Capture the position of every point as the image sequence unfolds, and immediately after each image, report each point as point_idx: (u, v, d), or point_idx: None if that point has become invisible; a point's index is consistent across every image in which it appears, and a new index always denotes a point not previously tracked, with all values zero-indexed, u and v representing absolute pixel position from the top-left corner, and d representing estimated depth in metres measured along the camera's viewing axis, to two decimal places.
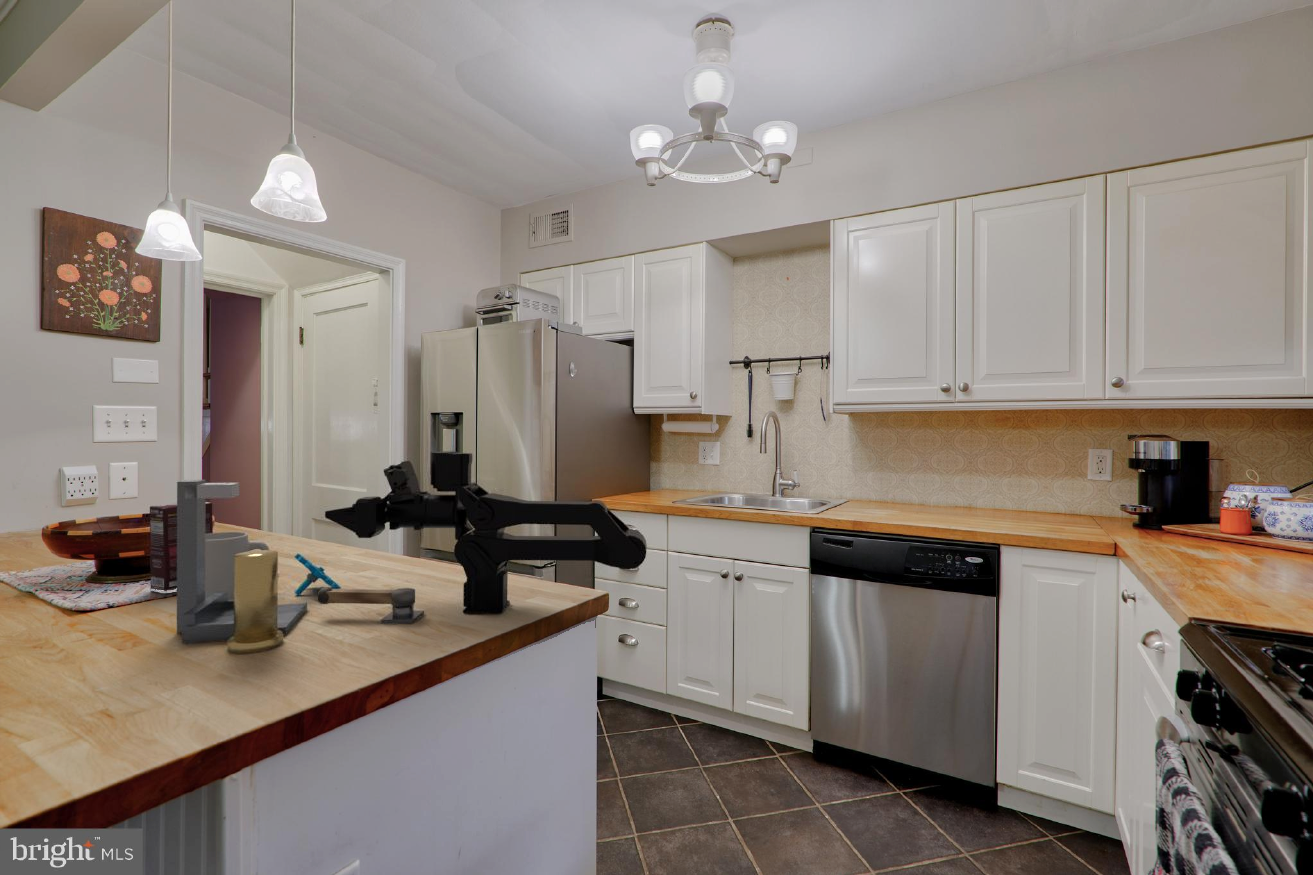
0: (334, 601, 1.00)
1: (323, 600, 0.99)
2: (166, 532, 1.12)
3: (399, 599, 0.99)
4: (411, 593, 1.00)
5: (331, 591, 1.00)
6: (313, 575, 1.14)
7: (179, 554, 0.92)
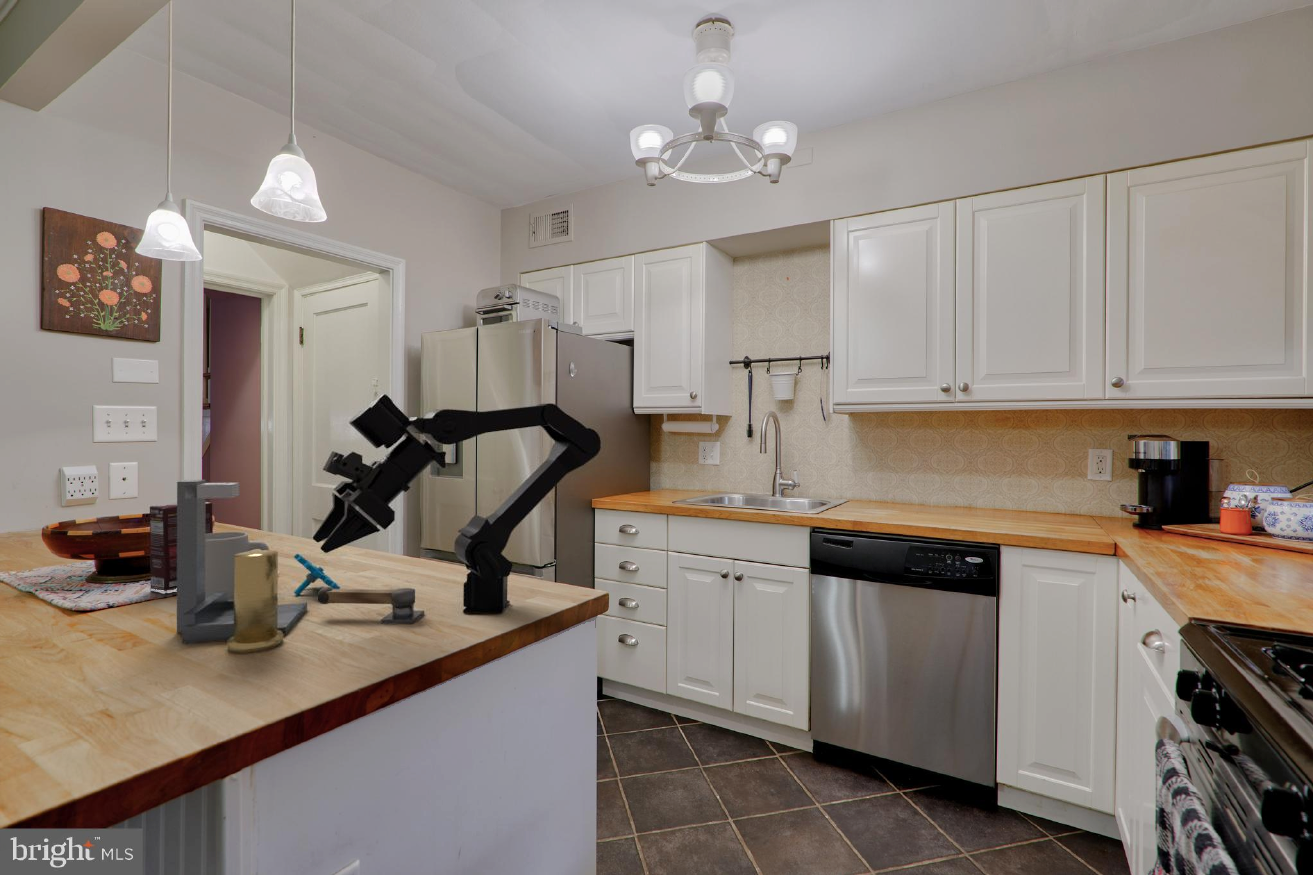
0: (334, 601, 1.00)
1: (323, 600, 0.99)
2: (166, 532, 1.12)
3: (399, 599, 0.99)
4: (411, 593, 1.00)
5: (331, 591, 1.00)
6: (312, 575, 1.14)
7: (179, 554, 0.92)
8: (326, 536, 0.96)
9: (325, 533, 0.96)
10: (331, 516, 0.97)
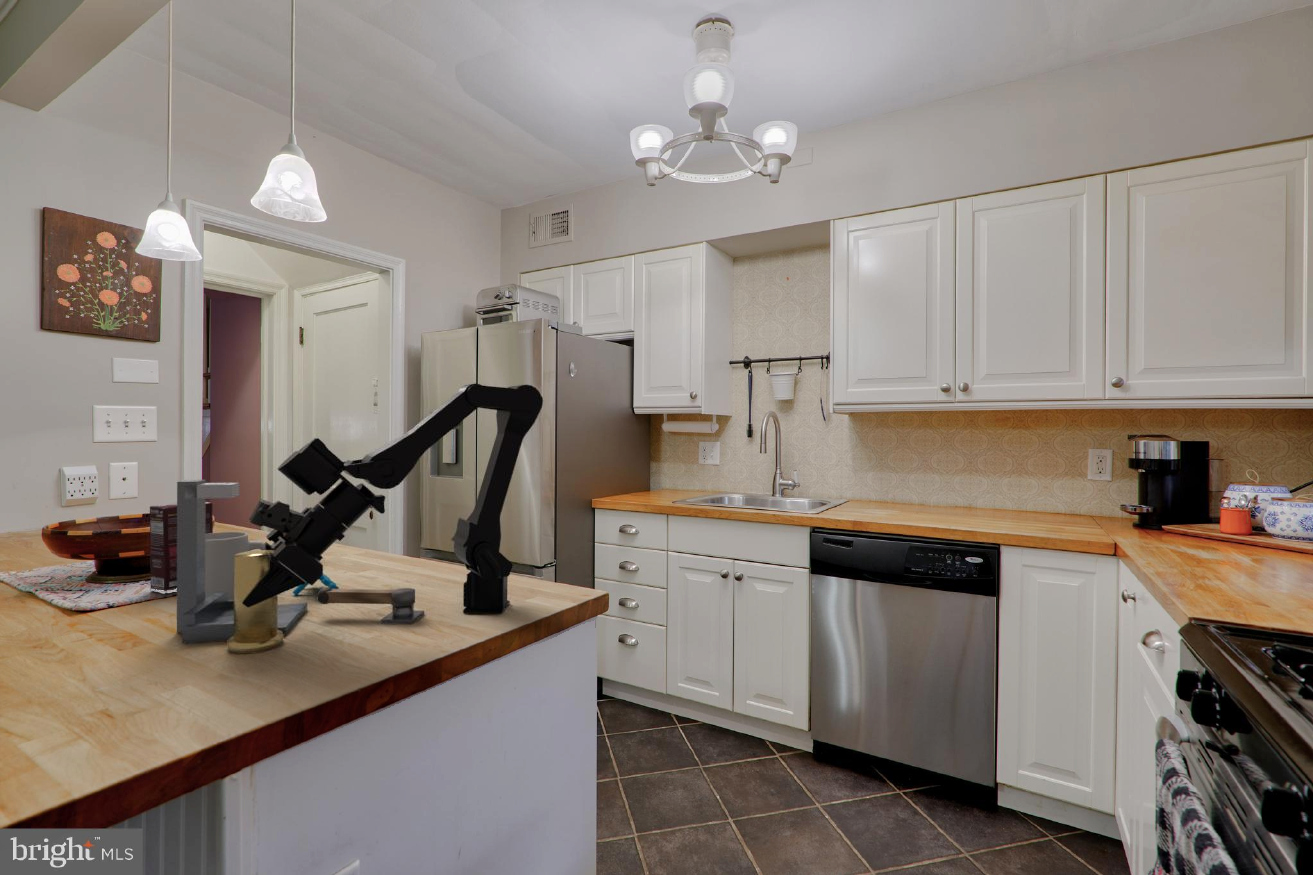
0: (334, 601, 1.00)
1: (323, 600, 0.99)
2: (166, 532, 1.12)
3: (399, 599, 0.99)
4: (411, 593, 1.00)
5: (331, 591, 1.00)
6: None
7: (179, 554, 0.92)
8: None
9: None
10: None
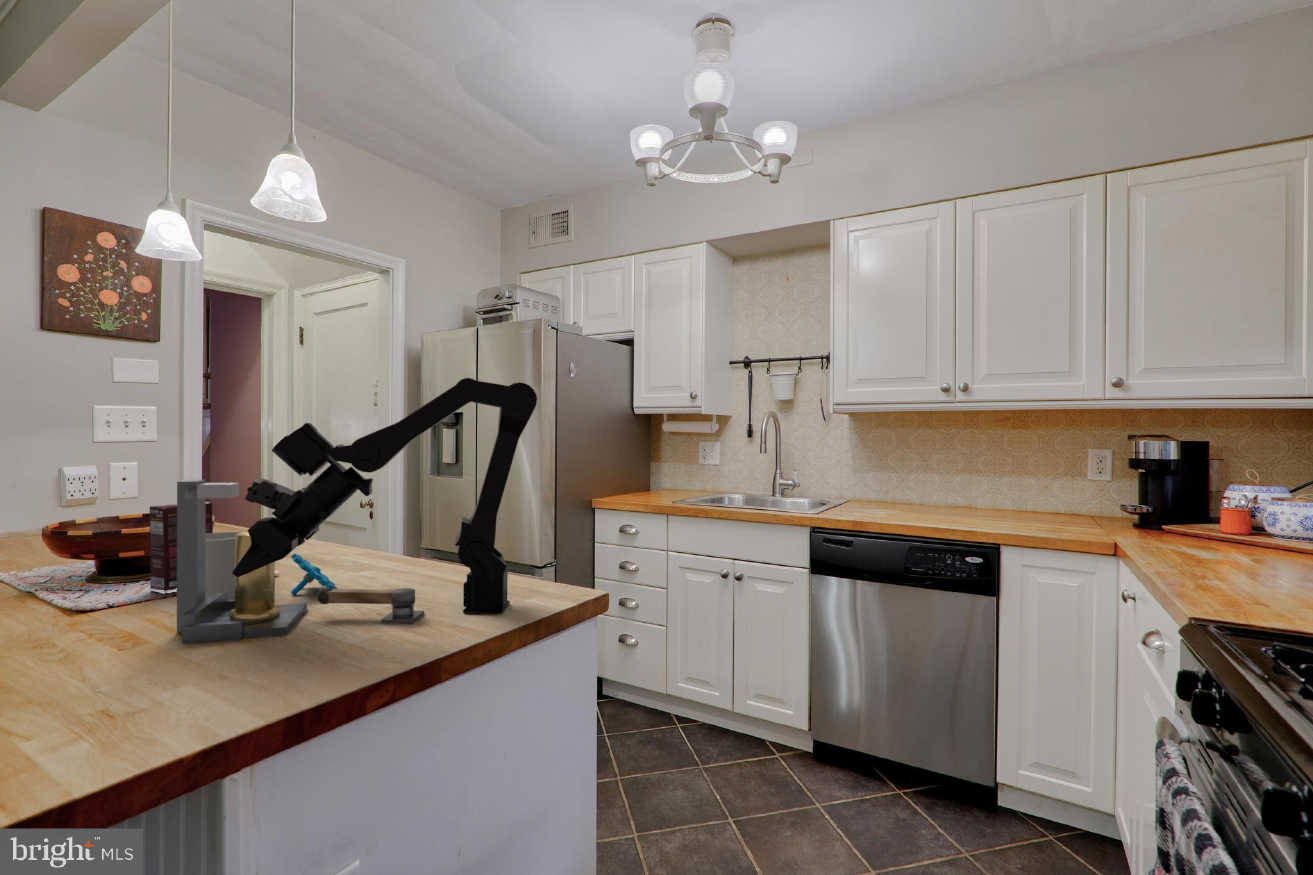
0: (334, 601, 1.00)
1: (323, 600, 0.99)
2: (166, 532, 1.12)
3: (399, 599, 0.99)
4: (411, 593, 1.00)
5: (331, 591, 1.00)
6: (309, 575, 1.14)
7: (179, 554, 0.92)
8: None
9: None
10: None
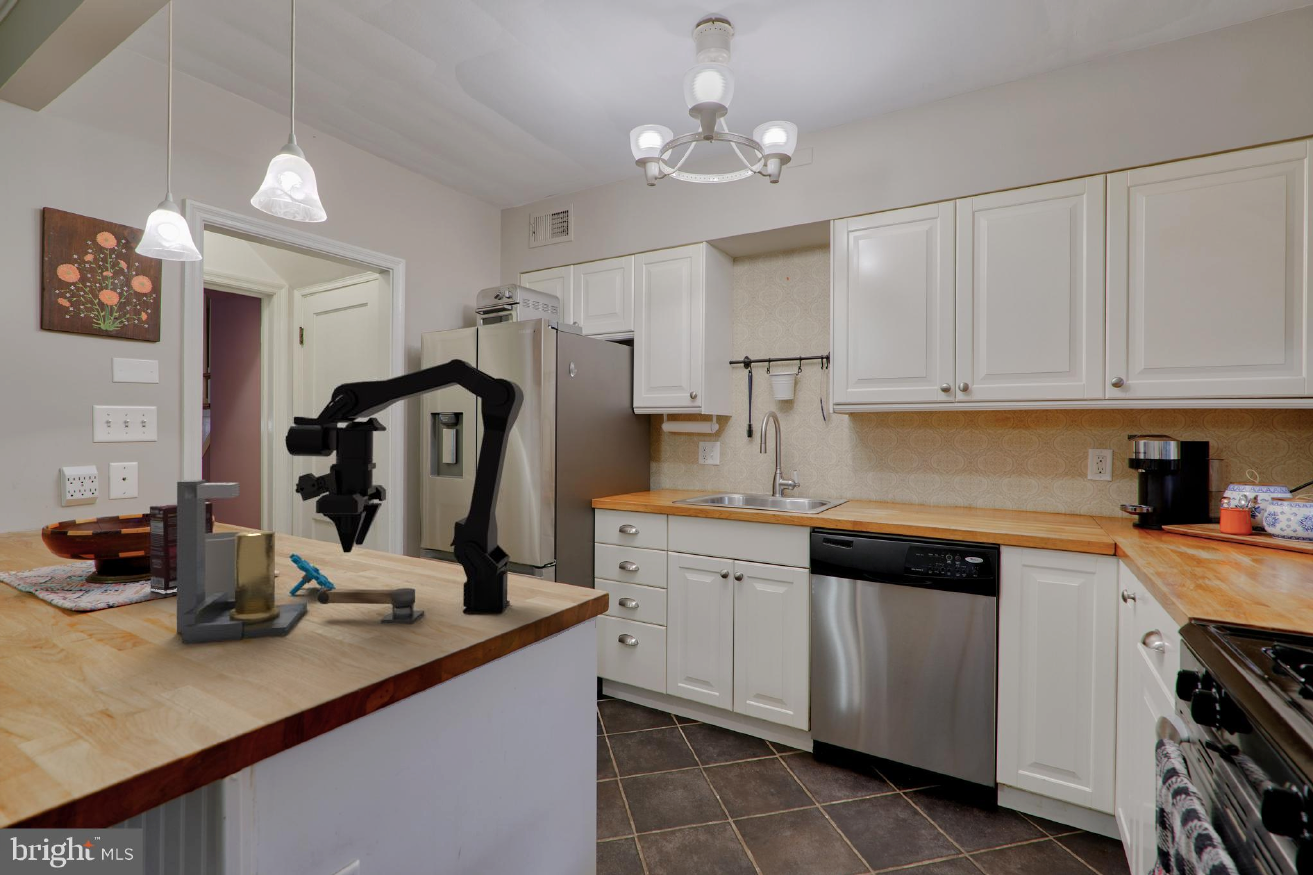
0: (334, 601, 1.00)
1: (323, 600, 0.99)
2: (166, 532, 1.12)
3: (399, 599, 0.99)
4: (411, 593, 1.00)
5: (331, 591, 1.00)
6: (307, 575, 1.14)
7: (179, 554, 0.92)
8: (363, 536, 1.10)
9: (360, 535, 1.10)
10: None
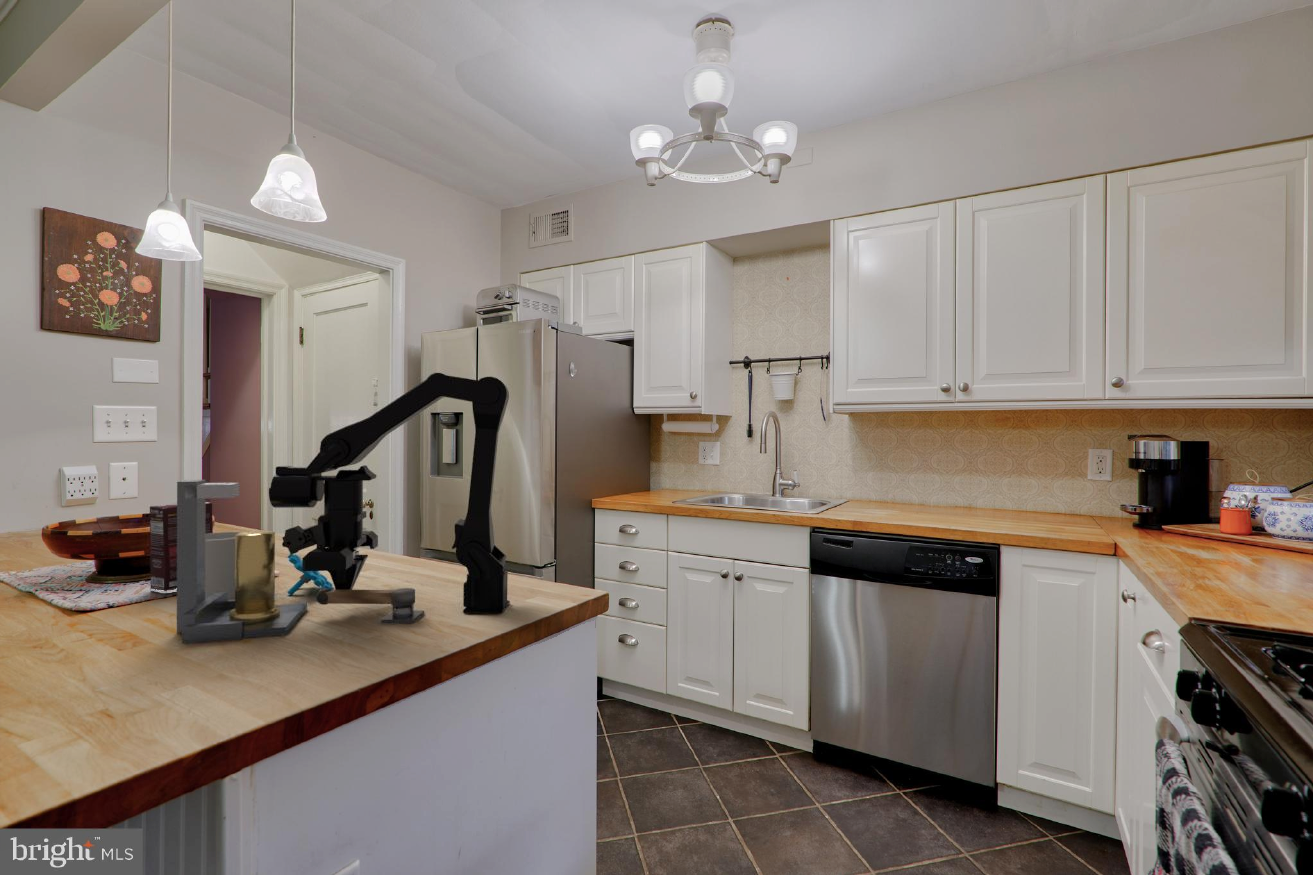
0: (333, 601, 0.99)
1: (322, 600, 0.99)
2: (166, 532, 1.12)
3: (399, 599, 0.99)
4: (411, 593, 1.00)
5: (330, 591, 1.00)
6: None
7: (179, 554, 0.92)
8: None
9: None
10: None
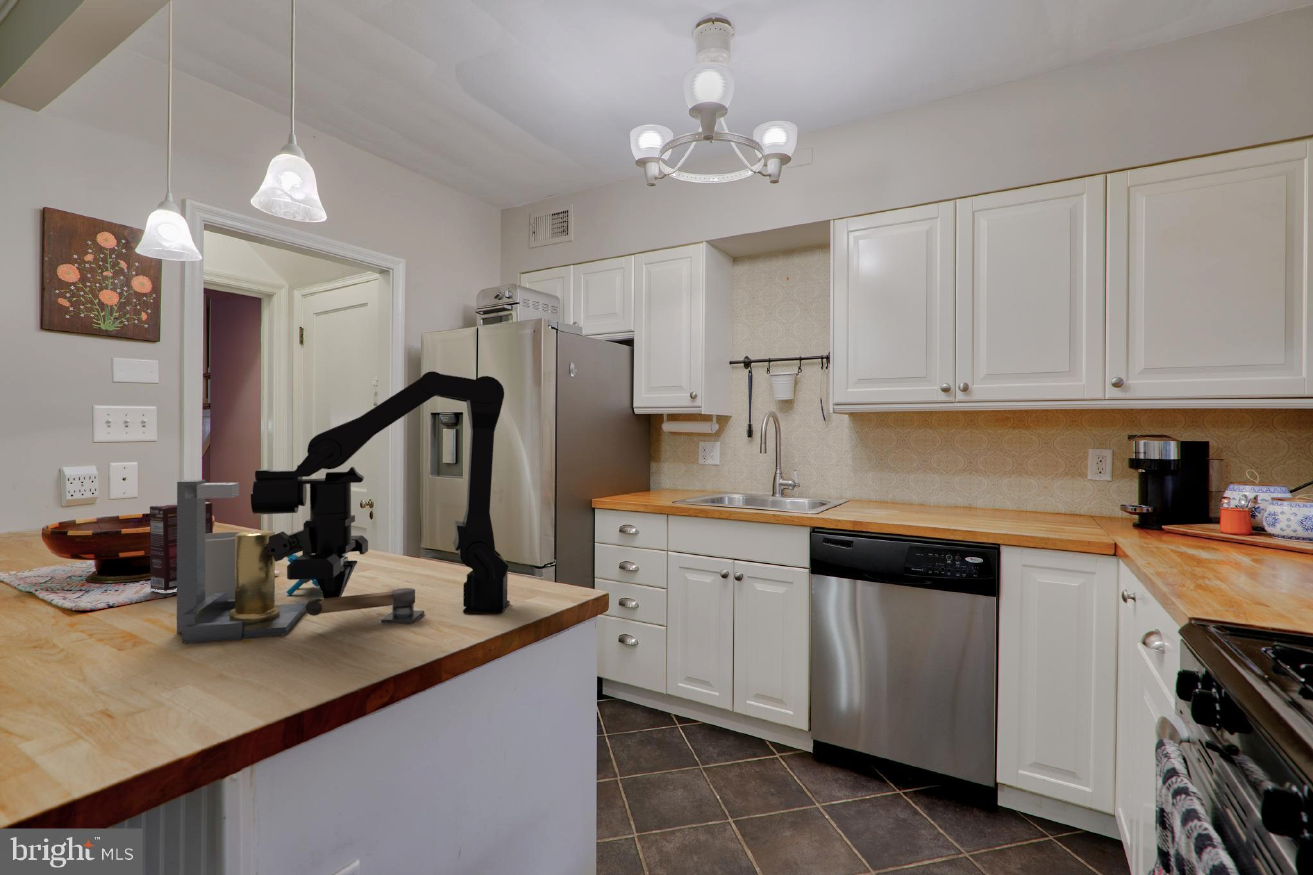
0: (329, 610, 0.95)
1: (316, 611, 0.94)
2: (166, 532, 1.12)
3: (405, 599, 0.99)
4: (414, 592, 1.01)
5: (323, 601, 0.95)
6: None
7: (179, 554, 0.92)
8: None
9: None
10: None
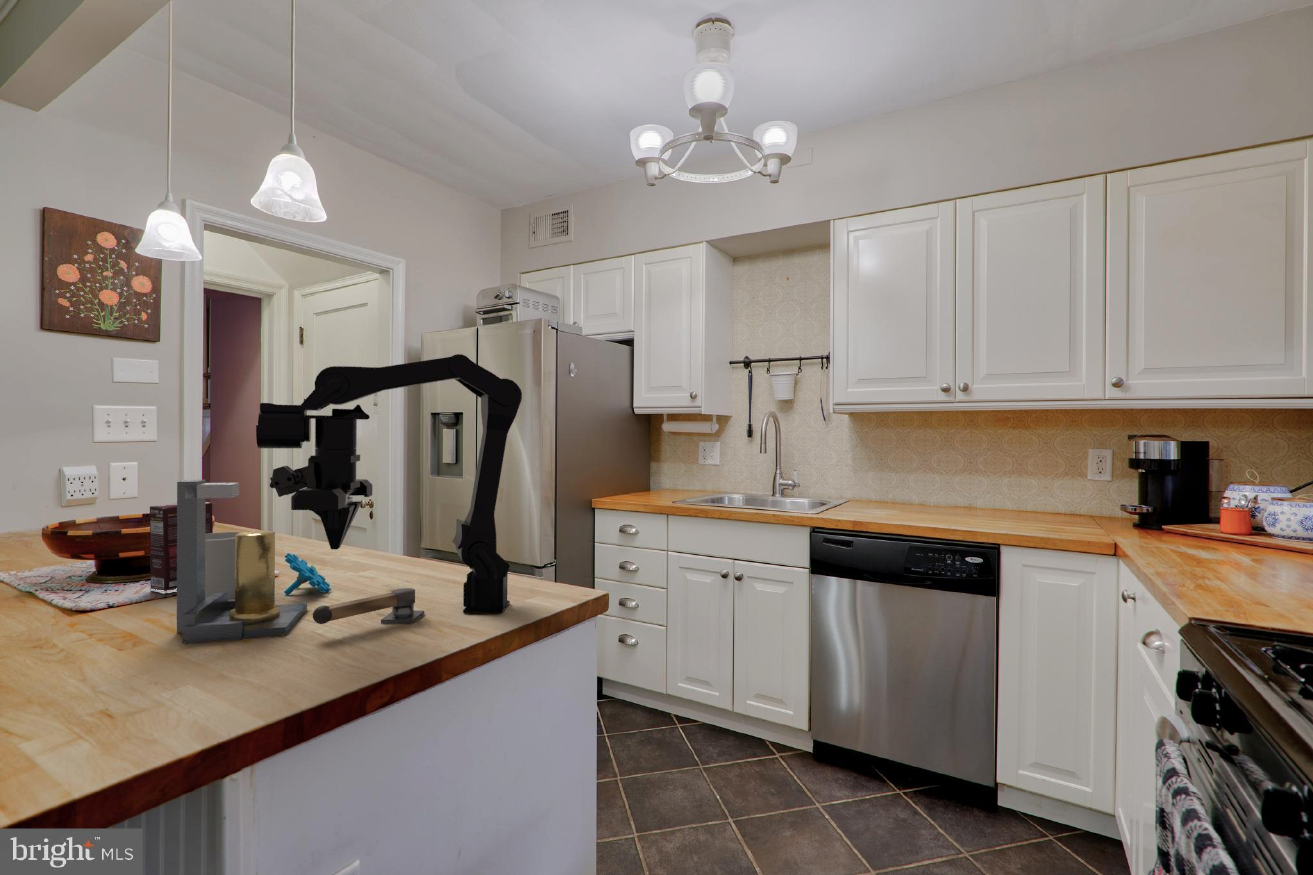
0: (338, 617, 0.92)
1: (327, 618, 0.90)
2: (166, 532, 1.12)
3: (409, 598, 1.00)
4: (414, 590, 1.01)
5: (332, 607, 0.91)
6: None
7: (179, 554, 0.92)
8: None
9: None
10: None
